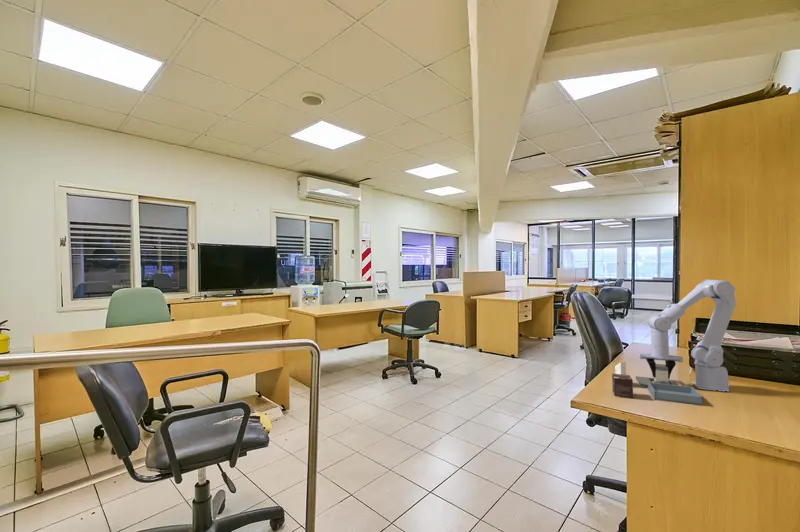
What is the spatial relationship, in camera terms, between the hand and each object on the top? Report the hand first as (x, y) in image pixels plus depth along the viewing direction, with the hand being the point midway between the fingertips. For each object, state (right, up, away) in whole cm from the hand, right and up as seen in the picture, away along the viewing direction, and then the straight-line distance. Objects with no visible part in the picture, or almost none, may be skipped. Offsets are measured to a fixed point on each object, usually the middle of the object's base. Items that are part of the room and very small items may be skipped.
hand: (661, 377), depth 140 cm
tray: (-5, -3, -13) cm, 14 cm away
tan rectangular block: (0, -3, 0) cm, 3 cm away
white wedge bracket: (-14, -4, +2) cm, 15 cm away
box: (-22, -4, -9) cm, 25 cm away
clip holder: (0, -3, 0) cm, 3 cm away
